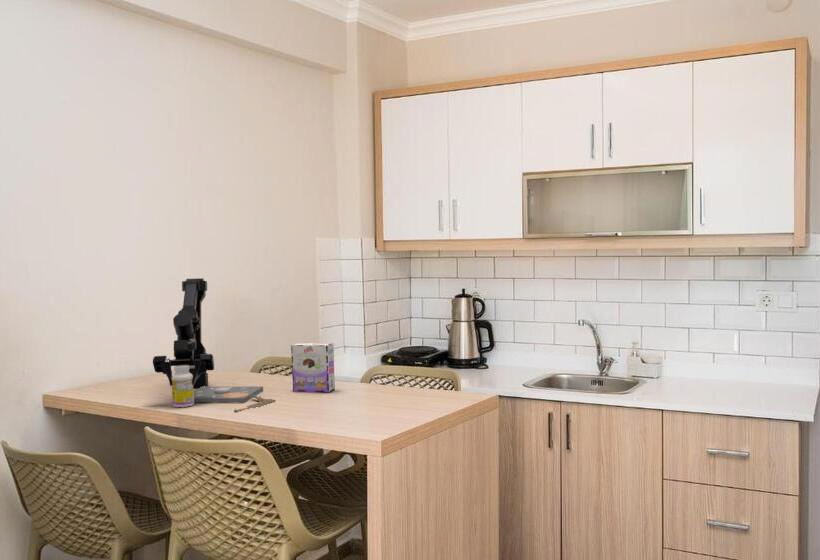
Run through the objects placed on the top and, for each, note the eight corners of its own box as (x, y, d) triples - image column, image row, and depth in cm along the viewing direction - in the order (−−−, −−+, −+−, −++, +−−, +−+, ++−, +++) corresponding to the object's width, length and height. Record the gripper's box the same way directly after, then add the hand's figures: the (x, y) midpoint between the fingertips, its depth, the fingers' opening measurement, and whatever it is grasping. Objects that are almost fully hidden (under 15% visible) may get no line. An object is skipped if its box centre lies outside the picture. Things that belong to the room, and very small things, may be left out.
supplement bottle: (175, 404, 262) (173, 364, 261) (195, 403, 263) (194, 363, 262) (170, 408, 255) (169, 367, 255) (192, 407, 256) (190, 367, 255)
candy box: (335, 390, 281) (334, 342, 280) (328, 393, 275) (327, 345, 274) (299, 388, 285) (298, 342, 284) (291, 391, 280) (290, 344, 279)
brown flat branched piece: (278, 402, 267) (279, 396, 267) (262, 416, 246) (262, 410, 246) (251, 400, 267) (252, 394, 267) (233, 414, 247) (233, 407, 247)
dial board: (178, 402, 264) (178, 394, 264) (202, 390, 285) (202, 383, 285) (244, 403, 261) (243, 394, 261) (263, 390, 282) (262, 383, 282)
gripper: (152, 331, 261) (147, 370, 250) (211, 329, 263) (209, 368, 253) (157, 352, 269) (153, 391, 258) (215, 350, 271) (212, 388, 261)
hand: (181, 384), depth 257 cm, fingers closed on supplement bottle, 6 cm apart
